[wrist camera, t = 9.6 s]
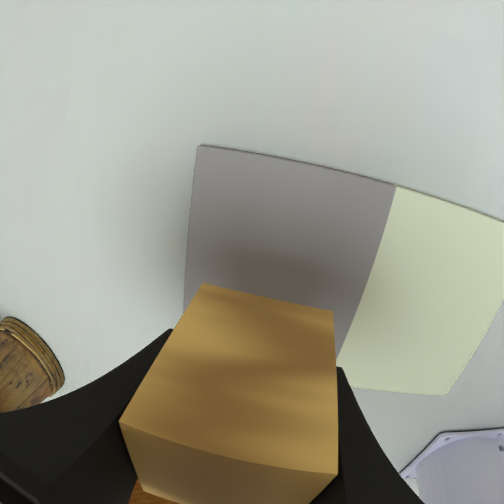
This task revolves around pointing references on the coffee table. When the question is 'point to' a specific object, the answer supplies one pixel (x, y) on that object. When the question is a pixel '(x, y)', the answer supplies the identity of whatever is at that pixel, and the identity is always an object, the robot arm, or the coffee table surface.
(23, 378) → the wooden mug
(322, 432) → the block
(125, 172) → the coffee table surface
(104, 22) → the coffee table surface
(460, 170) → the coffee table surface
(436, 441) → the robot arm
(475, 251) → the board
